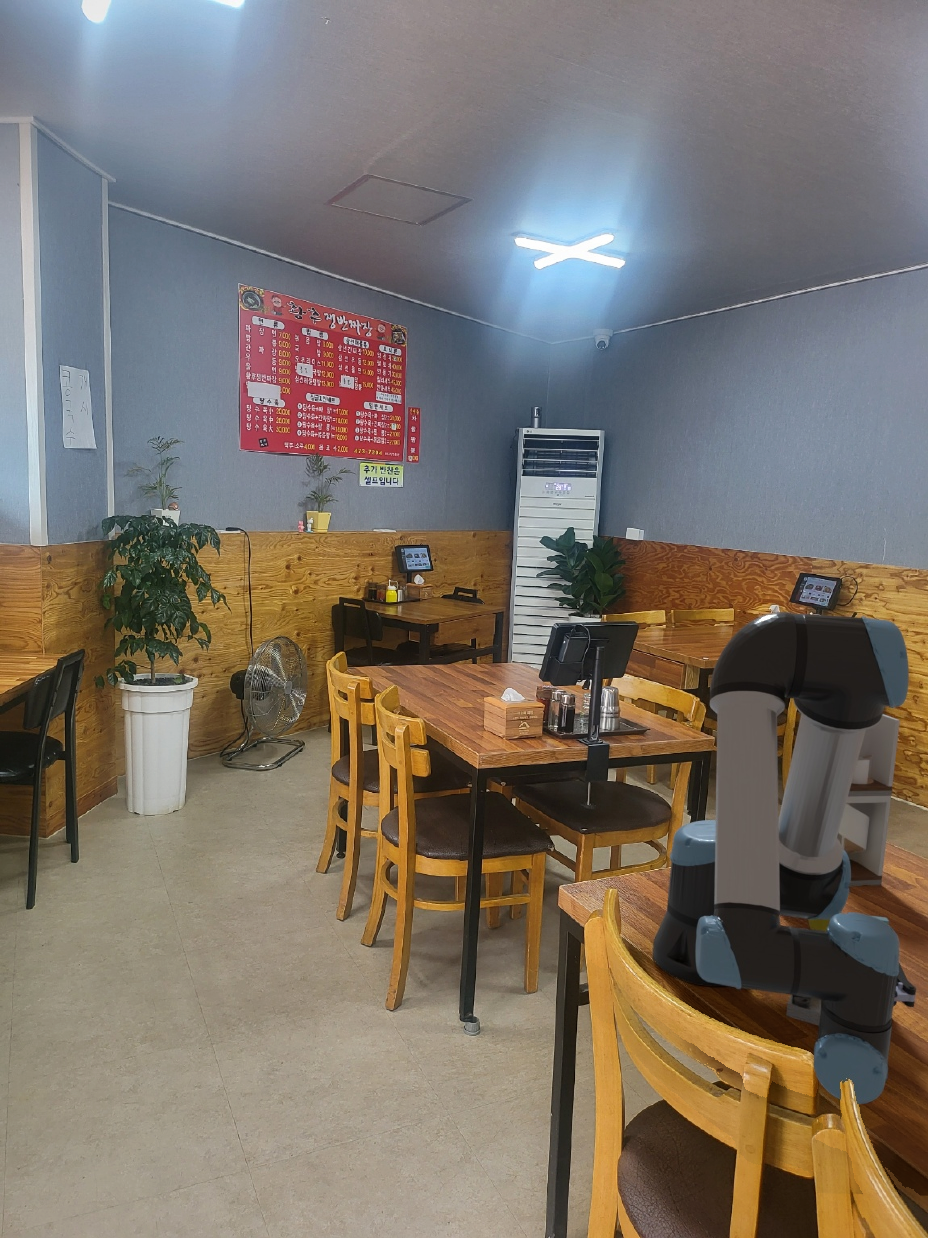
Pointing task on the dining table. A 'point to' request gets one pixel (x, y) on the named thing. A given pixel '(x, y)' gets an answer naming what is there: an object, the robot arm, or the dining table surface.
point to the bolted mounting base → (804, 1009)
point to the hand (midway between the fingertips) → (869, 934)
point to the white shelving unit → (870, 803)
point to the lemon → (819, 924)
